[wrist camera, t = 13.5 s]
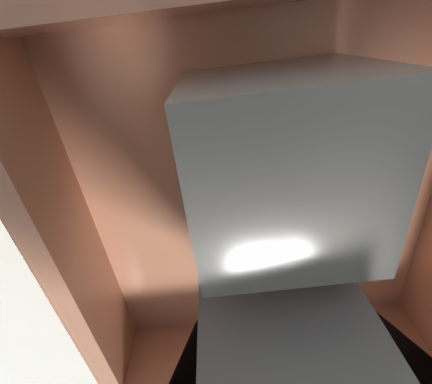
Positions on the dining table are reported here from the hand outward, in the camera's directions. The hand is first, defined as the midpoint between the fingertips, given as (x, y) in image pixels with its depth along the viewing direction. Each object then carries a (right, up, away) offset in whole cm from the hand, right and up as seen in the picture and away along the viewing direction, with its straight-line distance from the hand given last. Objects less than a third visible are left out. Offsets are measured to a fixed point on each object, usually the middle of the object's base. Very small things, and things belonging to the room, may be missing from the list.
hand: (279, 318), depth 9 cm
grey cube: (0, 0, +1) cm, 1 cm away
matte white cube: (-1, +6, 0) cm, 6 cm away
